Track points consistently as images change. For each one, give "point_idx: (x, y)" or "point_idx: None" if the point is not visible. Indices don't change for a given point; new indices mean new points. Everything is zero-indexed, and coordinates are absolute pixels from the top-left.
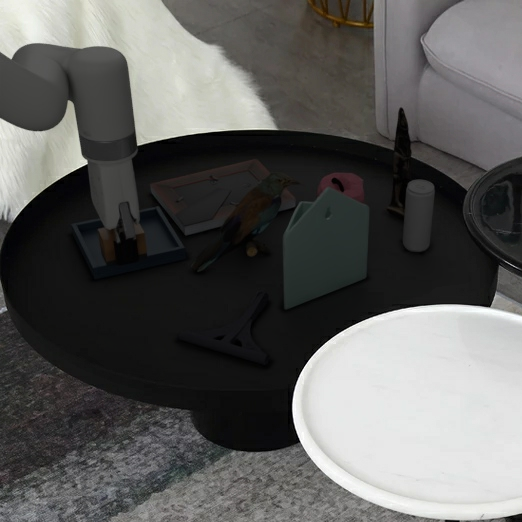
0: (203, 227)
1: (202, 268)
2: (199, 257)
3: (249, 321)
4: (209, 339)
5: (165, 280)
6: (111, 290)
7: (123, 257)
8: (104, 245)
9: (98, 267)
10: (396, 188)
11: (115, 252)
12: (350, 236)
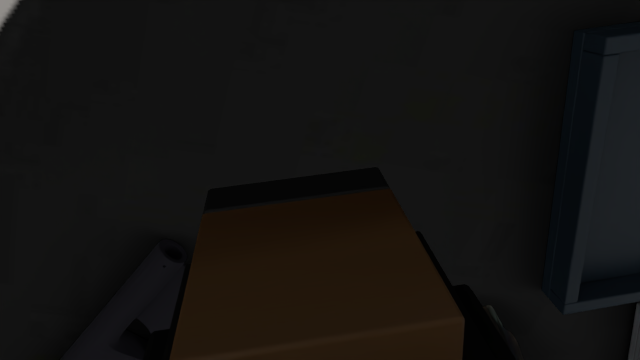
0: (638, 349)
1: None
2: None
3: None
4: (113, 322)
5: (471, 231)
6: (491, 76)
7: (146, 356)
8: (180, 320)
9: (601, 57)
10: None
11: (172, 337)
12: None
